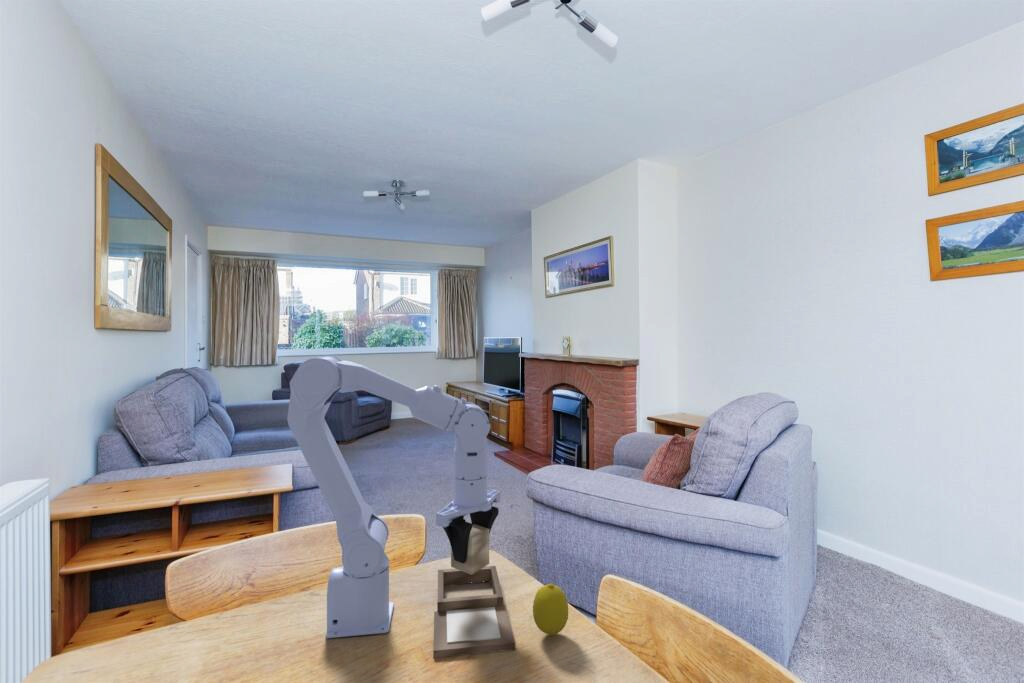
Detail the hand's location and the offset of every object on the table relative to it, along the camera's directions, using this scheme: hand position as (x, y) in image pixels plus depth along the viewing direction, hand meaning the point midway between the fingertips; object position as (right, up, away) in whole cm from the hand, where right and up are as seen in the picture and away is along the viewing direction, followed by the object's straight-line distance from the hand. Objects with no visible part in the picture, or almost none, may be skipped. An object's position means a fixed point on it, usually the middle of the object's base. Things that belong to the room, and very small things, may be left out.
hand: (470, 555), depth 78 cm
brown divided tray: (0, -9, 0) cm, 9 cm away
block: (0, -2, 0) cm, 2 cm away
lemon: (+13, -10, -7) cm, 18 cm away
